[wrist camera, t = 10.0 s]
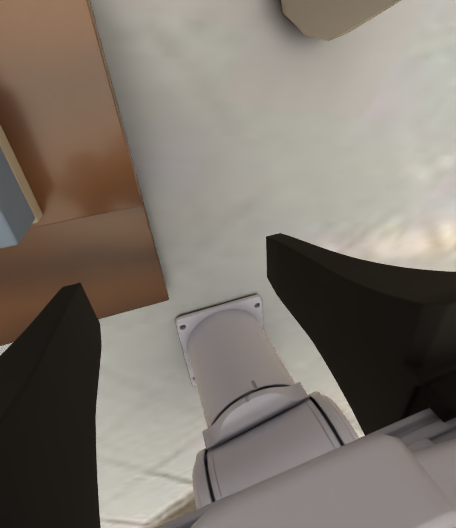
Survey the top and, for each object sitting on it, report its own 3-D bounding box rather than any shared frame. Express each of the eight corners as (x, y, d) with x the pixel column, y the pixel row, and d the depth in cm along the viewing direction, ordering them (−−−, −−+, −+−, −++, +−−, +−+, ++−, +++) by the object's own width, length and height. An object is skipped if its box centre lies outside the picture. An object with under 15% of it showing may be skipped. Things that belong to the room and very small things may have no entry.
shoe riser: (166, 288, 24) (177, 335, 19) (3, 331, 21) (-28, 396, 17) (87, -7, 14) (72, -53, 10) (-229, 8, 12) (-448, -43, 7)
